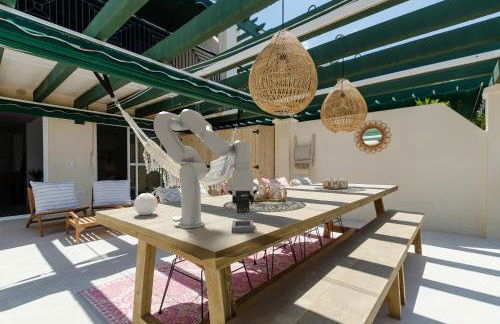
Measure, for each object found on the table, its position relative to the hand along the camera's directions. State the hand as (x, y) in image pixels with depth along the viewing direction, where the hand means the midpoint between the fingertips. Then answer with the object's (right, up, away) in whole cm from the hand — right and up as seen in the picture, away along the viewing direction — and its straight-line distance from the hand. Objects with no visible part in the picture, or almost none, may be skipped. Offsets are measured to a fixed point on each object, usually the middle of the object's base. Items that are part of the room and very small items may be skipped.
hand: (243, 203), depth 123 cm
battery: (0, -5, 0) cm, 5 cm away
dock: (0, -12, 0) cm, 12 cm away
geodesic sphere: (-60, -12, +34) cm, 70 cm away
